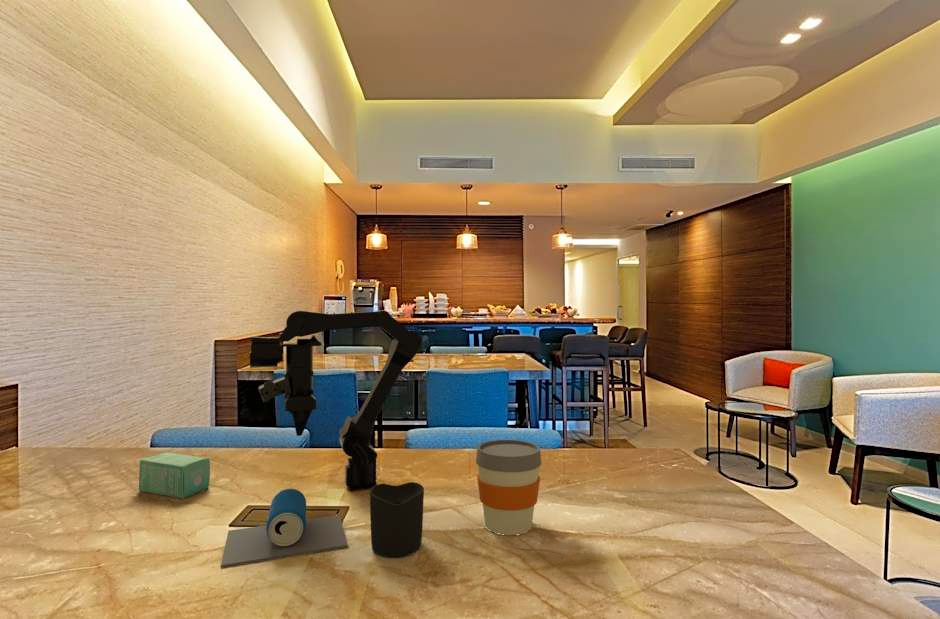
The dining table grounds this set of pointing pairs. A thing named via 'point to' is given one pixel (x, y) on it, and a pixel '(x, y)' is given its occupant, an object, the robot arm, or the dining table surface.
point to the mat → (259, 547)
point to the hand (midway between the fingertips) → (299, 435)
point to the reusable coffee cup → (508, 484)
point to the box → (174, 474)
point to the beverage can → (287, 517)
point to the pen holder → (396, 519)
